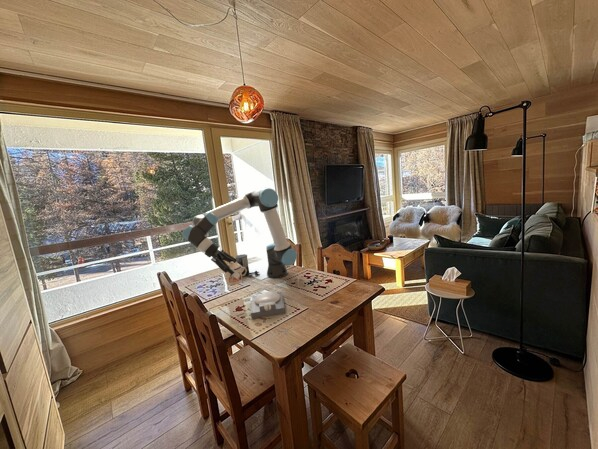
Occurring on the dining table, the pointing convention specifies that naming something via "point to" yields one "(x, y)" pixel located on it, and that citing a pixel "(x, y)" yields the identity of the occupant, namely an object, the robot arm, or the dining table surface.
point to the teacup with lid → (231, 279)
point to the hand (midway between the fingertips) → (241, 273)
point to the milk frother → (244, 263)
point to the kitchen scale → (267, 304)
